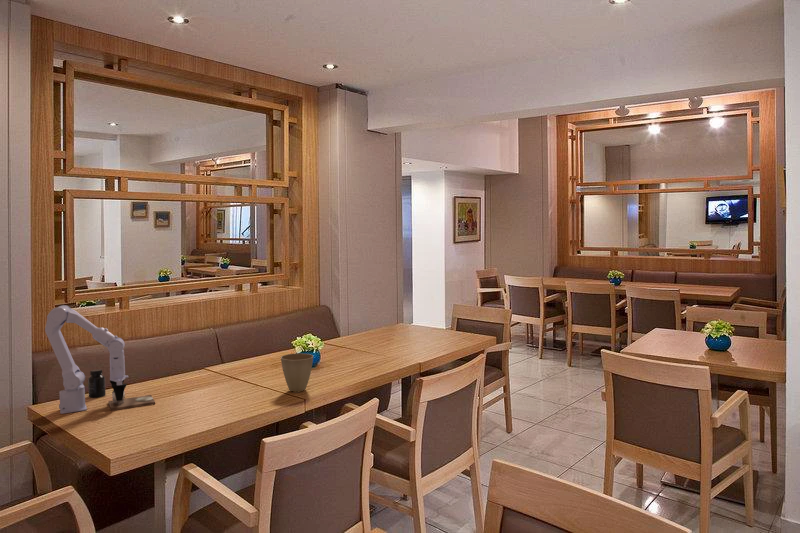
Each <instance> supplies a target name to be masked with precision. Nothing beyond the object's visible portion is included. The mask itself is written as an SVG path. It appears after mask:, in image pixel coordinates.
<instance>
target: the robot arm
mask: <svg viewBox="0 0 800 533" xmlns="http://www.w3.org/2000/svg"><path fill="white" fill-rule="evenodd" d="M65 323H66V324H67V323H68V324H76V325H77V326H79V327H80V328H82V329H84V330H85V331H87V332H88V333H90V334H91V335H92V339H93V340H95V341H96V342H97V343H100V344H101V345H102V346H104V347H105V348H107V350H108V352H109V383H110V385H111V387H112V389H113V390H112V391H114V392H115V396H116V400H117V401H120V400H122V399H123V394H124V391H125V389H126V387H127V386H128V385H127V383H124V381H125V380H126V379H128V378H129V375H126V365H125V364H126V361H125V358H126V357H125V350H124V349H125V346H126V342H125V341H124V339H123V338H122V337H118V335H114V334H113V333H112V332H110V331H109V329H108V328H107V327H105V328H104V327H103V326H102V327H98V326H96V325H95V324H94V323H92V322H91V321H90V320H89V319H87V318H86V317H85V316H83V315H82V314H81V313H79V312H78V311H77V310H75V309H73V308H71V307H70V306H68V305H67V304H66V305H65V304H62V305H59V306H58V307H57V306H56V307H54V308H52V309H51V310H50V311H49V313H48V314H47V316H46V324H45V328H44V331H45V332H44V333H45V334H46V336H47V339H48V341H49V343H50V346H51V348H52V350H53V353H54V354H55V357H56V359H57V362H58V364H59V365H60V369H61V377H62V379H63V380H62V384H63V387H64V389H63V390H58V393H59V404H58V408H59V413H60V415H62V414H69V413H75V412H81V411H87V410H88V408H87V404H86V396H85V395H86V390H85V387H86V386H85V385H84V382H85V380H86V375H85V373H84V372H83V371H82V370H80V367H79V366H78V365H77V364H76V362H75V360H74V359H73V356H72V354H71V351H70V349H69V347H68V344H67V342H66V340H65V337H64V336H63V333H62V331H61V330H62V328H63V326H64V324H65Z"/></svg>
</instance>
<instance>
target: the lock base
mask: <svg viewBox="0 0 800 533" xmlns="http://www.w3.org/2000/svg"><path fill="white" fill-rule="evenodd" d="M152 405H156V401H155V399H154V398H153V396H152V394H147V395H141V396H133V397H125V398H124V399H122V400H120V401H117V400H112V399H111V400H108V406H109V410H110V411H112V412H113V411H119V410H125V409H132V408H138V407H146V406H152Z"/></svg>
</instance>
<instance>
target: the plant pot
mask: <svg viewBox="0 0 800 533" xmlns="http://www.w3.org/2000/svg"><path fill="white" fill-rule="evenodd" d="M280 363H281V368H282V372H283V376H284V380H285V383H286V385H287V388H288V390H290V391H303V390H305V389H306V390H307V387H308V383H309V381H310V378H311V372H312V369H313V368H312V367H313V363H314V355H313V354H310V353H287V354H285V355H281V357H280ZM306 390H305V391H306ZM290 391H289V392H290ZM303 392H304V391H303Z"/></svg>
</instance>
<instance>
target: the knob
mask: <svg viewBox="0 0 800 533" xmlns="http://www.w3.org/2000/svg"><path fill="white" fill-rule="evenodd" d="M125 392H126V391H125V390H124V394H123V399H125V398H126V394H125ZM111 393H112V394H111V396H112V399H111V401H112V400H116V396H115V392H114V390H112V392H111Z"/></svg>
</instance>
